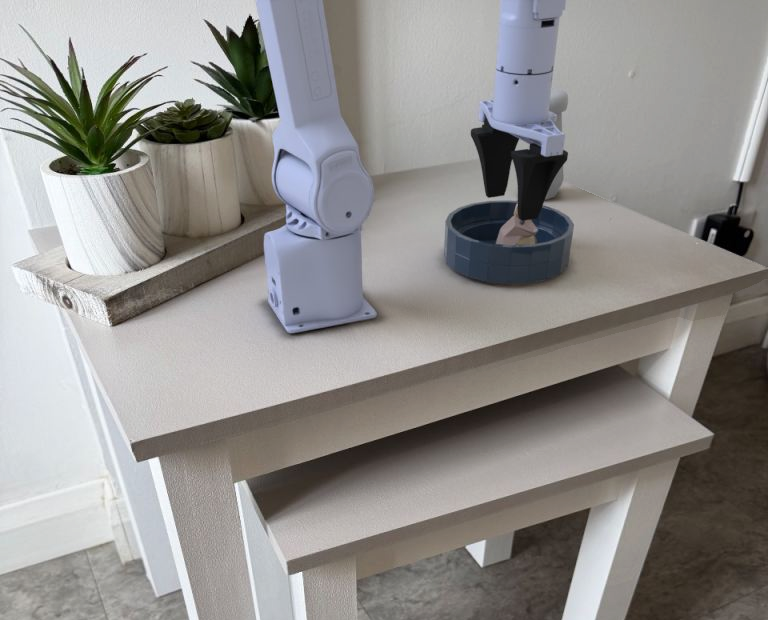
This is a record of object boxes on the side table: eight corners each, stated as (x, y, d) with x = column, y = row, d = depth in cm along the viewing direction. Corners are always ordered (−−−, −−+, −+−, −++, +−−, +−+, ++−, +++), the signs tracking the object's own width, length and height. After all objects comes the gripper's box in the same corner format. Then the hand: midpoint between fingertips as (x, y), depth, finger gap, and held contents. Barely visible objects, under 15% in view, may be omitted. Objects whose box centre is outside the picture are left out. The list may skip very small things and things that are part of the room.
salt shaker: (560, 203, 106) (574, 96, 97) (517, 200, 106) (528, 94, 98) (561, 189, 110) (575, 85, 102) (520, 186, 111) (530, 83, 102)
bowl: (478, 296, 84) (481, 255, 81) (424, 248, 94) (425, 210, 91) (592, 275, 88) (599, 235, 85) (528, 230, 98) (533, 194, 95)
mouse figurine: (494, 241, 95) (499, 184, 90) (547, 261, 90) (555, 201, 86) (465, 254, 92) (468, 195, 88) (518, 274, 87) (525, 213, 83)
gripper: (599, 80, 74) (577, 223, 83) (523, 51, 85) (511, 182, 94) (534, 87, 72) (519, 233, 81) (464, 57, 83) (457, 190, 92)
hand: (511, 206), depth 87 cm, fingers open, 7 cm apart
